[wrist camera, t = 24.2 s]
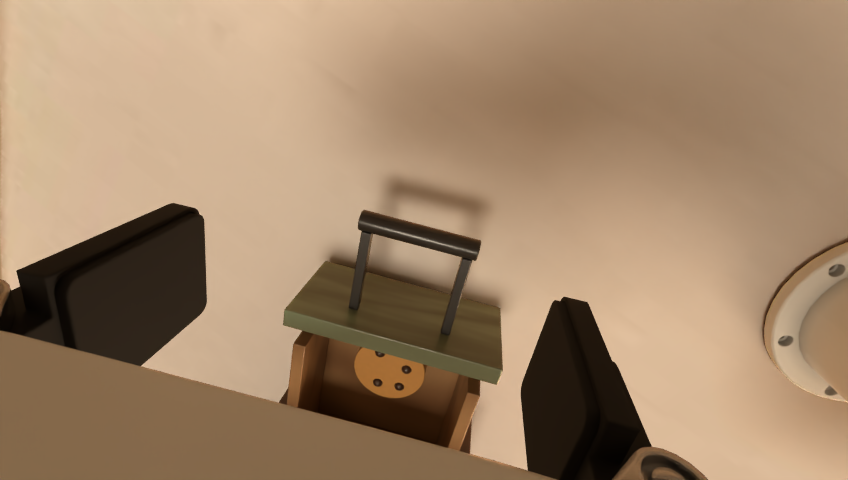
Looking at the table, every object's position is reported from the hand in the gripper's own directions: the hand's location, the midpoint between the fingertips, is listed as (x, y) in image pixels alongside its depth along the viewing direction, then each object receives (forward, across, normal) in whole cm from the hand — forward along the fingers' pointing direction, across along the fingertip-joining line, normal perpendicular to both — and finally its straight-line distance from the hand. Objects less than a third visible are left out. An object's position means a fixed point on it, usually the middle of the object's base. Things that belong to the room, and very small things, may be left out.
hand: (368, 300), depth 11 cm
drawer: (+17, 0, +13) cm, 22 cm away
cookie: (+16, 0, +15) cm, 22 cm away
